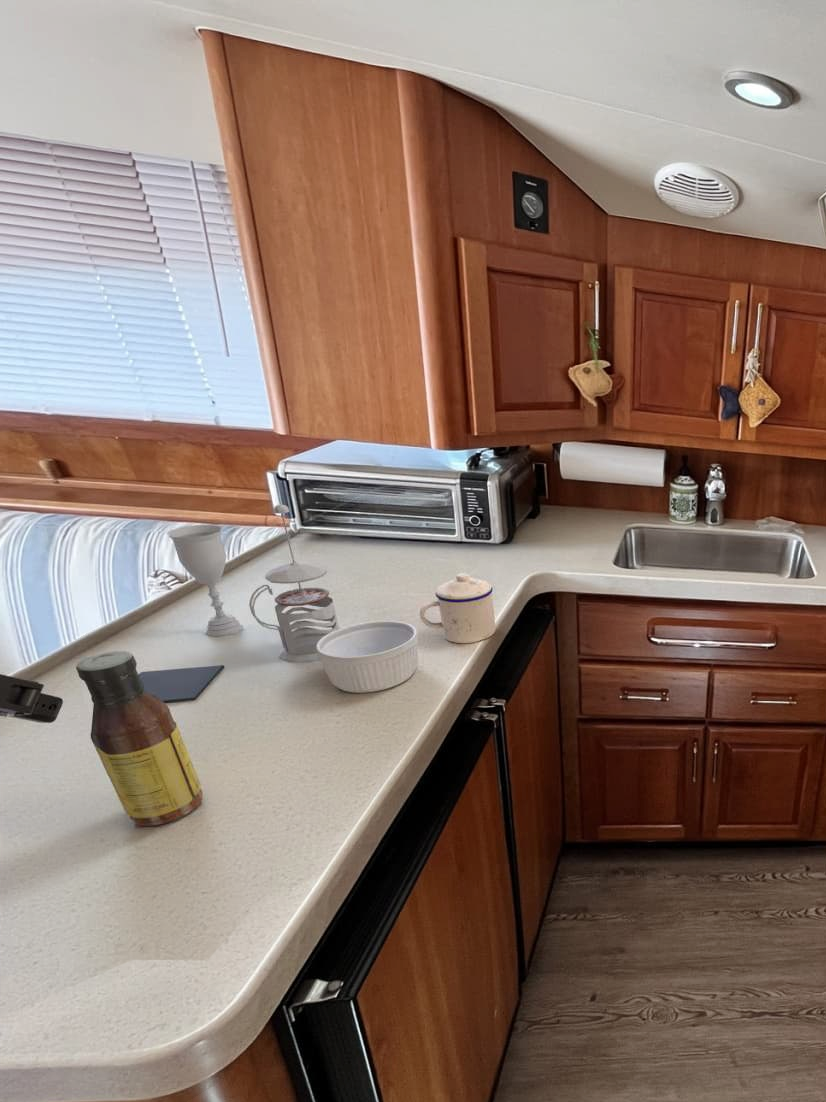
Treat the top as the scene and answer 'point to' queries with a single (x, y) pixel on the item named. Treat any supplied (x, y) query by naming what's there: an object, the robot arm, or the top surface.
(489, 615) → the teacup with lid
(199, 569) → the chalice
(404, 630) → the ramekin
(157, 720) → the sauce bottle
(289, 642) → the french press
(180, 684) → the mat
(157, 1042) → the top surface
